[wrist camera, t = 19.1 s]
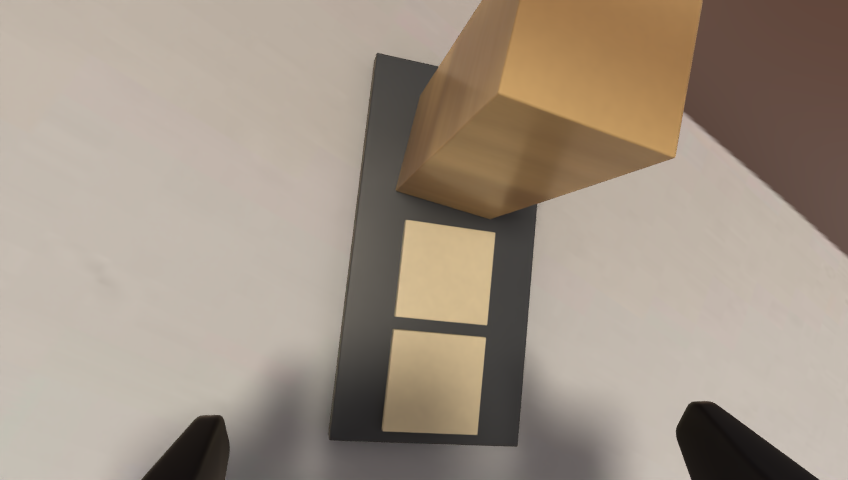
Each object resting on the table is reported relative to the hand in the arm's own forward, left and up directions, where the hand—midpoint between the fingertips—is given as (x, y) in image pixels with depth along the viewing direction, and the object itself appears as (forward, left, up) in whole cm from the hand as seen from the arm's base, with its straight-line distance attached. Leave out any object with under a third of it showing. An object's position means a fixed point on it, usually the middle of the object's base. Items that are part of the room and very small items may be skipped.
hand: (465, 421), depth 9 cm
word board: (+4, -3, -12) cm, 13 cm away
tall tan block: (+8, -3, -11) cm, 14 cm away
